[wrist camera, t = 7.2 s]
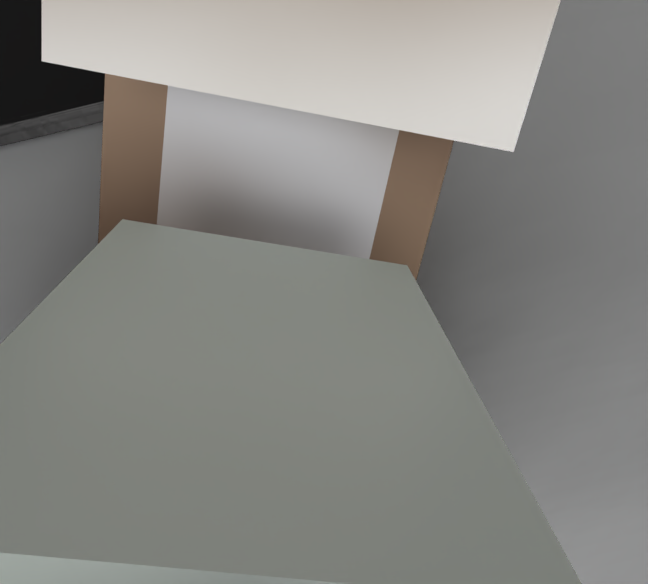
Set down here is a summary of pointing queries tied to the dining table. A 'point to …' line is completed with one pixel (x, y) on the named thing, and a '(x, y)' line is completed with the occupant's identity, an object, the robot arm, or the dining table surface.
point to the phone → (40, 81)
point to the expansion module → (251, 428)
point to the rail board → (298, 110)
